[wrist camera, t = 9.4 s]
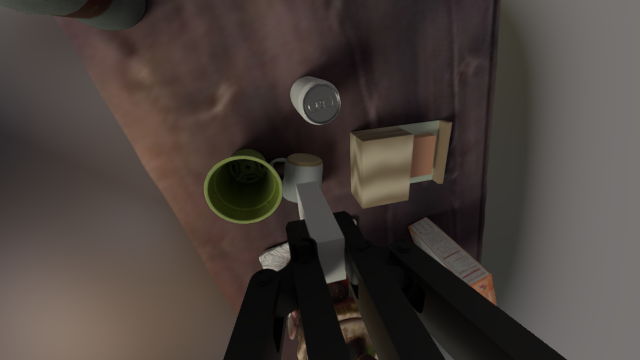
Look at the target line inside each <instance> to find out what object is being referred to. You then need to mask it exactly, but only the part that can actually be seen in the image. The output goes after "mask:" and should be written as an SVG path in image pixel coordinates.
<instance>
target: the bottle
mask: <svg viewBox="0 0 640 360" xmlns="http://www.w3.org/2000/svg"><path fill="white" fill-rule="evenodd" d="M0 5H2V6H4V7H7V8H11V9H14V10H17V11H20V12H23V13H26V14H40V15H53V16H62V17H70V18H74V19H76V20H78V21H81V22H83V23H85V24H88V25H90V26H93V27H96V28H99V29H102V30H124V29H127V28H130V27H133V26H134V25H135V24H137V23H138V22H139V21H140V20H141V19H142V16H143V14H144V12H145V0H0Z"/></svg>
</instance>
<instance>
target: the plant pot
mask: <svg viewBox="0 0 640 360" xmlns="http://www.w3.org/2000/svg"><path fill="white" fill-rule="evenodd" d="M232 160H233V161H232ZM234 161H235V162H234ZM261 163H262V164H263V168H261ZM233 165H235V169H236V172H234V171H233V168H232V166H233ZM246 166H250V168H249V169H247V168H246ZM266 171H267V172H266ZM253 177H255V179H253V180H247V178H253ZM204 194H205V199H206V201H207V203H208V205H209V206H210V208H211V209H212V210H213V211H214V212H215V213H216V214H217V215H219V216H220V217H222V218H224V219H226V220H228V221H231V222H235V223H253V222H257V221H260V220H262V219H264V218H266V217H268V216H269V215H270V214H272V213H273V212H274V211H275V209H276V208H277V207H278V205H279V203H280V201H281V198H282V194H283V187H282V182H281V179H280V177H279V175H278V173H277V172H276V170H275V169H274V168H273V167H272V166H271V165H269V164H268V163H267V162H266V160H265V158H264V157H263V156H262V155H261V154H260V153H259V152H257V151H255V150H252V149H242V150H239V151H237V152H235V153H234V154H233V155H232V156H231V157H229V158H227V159H224V160H222V161H220V162H219V163H217V164H216V165H215V166H214V167H213V168H212V169H211V170H210V172H209V173H208V175H207V177H206V180H205V184H204Z"/></svg>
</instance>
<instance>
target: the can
mask: <svg viewBox="0 0 640 360" xmlns="http://www.w3.org/2000/svg"><path fill="white" fill-rule="evenodd" d="M290 98H291V101H292V104H293V106H294V107H295V108H296V110H297V111H298V112H299V113H300V115H301V116H302V117H303V118H304V119H305V120H306V121H308V122H310V123H312V124H315V125H322V124H327V123H329V122H331V121H333V120H334V119H335V118H336V117H337V115H338V113H339V111H340V108H341V99H340V95H339V92H338V90H337V89H336V88H335V86H334V85H333V84H331V83H330V82H328V81H325V80H322V79H319V78H315V77H310V76H306V77H302V78H300V79H298V80H297V81H296V82H295V83H294V84H293V86H292V88H291V92H290Z"/></svg>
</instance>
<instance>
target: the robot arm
mask: <svg viewBox="0 0 640 360" xmlns="http://www.w3.org/2000/svg"><path fill="white" fill-rule="evenodd" d="M296 192H297V199H298V207H299V215H300V219H301V220H297V221H292V222H288V224H287V226H286V233H287V239H288V245H289V251H290V261H289V263H288V264H287V265H286V266H285V267H284V268H282V269H280V270H278V271H275V270H274V269H269V268H267V269H262V270H260V271H258V272H256V273H255V274H254V275H253V276H252V277H251V279H250V281H249V284H248V287H247V290H246V293H245V296H244V299H243V302H242V305H241V308H240V311H239V314H238V317H237V320H236V323H235V327H234V329H233V332H232V335H231V338H230V341H229V344H228V347H227V350H226V353H225V356H224V359H223V360H281V354H282V347H283V340H284V333H285V327H286V320H287V315H289V314H290V313H292V312H294V311H295V310H297V309H299V310H300V316H301V322H302V328H303V334H304V340H305V345H306V351H307V357H308V360H351V358H350V355H349V352H348V349H347V345H346V342H345V339H344V336H343V333H342V330H341V327H340V323H339V320H338V317H337V314H336V311H335V308H334V304H333V301H332V298H331V295H330V292H329V289H328V285H327V283H331V282H335V281H339V280H344V279H346V273H347V276H348V278H349V296H350V297H352V295H353V297H354V300H355V302H356V305H357V307H358V310H359V312H360V315H361V317H362V320H363V322H364V325H365V327H366V330H367V332H368V334H369V337H370V339H371V342H372V344H373V347H374V349H375V352H376V354H377V357H378V359H379V360H445V358H444V357H443V355H442V353H441V352H440V351H439V349H438V347H437V345H436V344H435V342H434V341H433V339H432V337H431V336H430V334H431V335H432V336H433V338H435V340H436V341H437V342H438V343H439V344H440V345H441V346H442V347H443V348H444V349H445V350H446V352H447V353H448V354H449V355H450V356H451V357H452V358H453V359H454V360H567V359H565V358H564V357H563V356H561V355H560V354H559V353H558V352H556V351H555V350H554V349H552V348H551V347H549V346H548V345H547V344H546V343H544V342H543V341H542V340H540V339H539V338H538V337H536V336H535V335H534V334H533V333H531V332H530V331H529V330H527V329H526V328H525V327H523V326H522V325H521V324H519V323H518V322H517V321H516V320H514V319H513V318H512V317H510V316H509V315H508V314H506V313H505V312H504V311H502V310H501V309H500V308H498V307H497V306H496V305H495V304H493V303H492V302H491V301H489V300H488V299H487V298H485V297H484V296H483V295H481V294H480V293H479V292H477V291H476V290H475V289H474V288H472V287H471V286H470V285H468V284H467V283H466V282H464V281H463V280H462V279H460V278H459V277H458V276H456V275H455V274H454V273H453V272H451V271H450V270H449V269H447V268H446V267H445V266H443V265H442V264H441V263H439V262H438V261H437V260H435V259H434V258H433V257H432V256H430V255H429V254H428V253H426V252H425V251H424V250H422V249H421V248H420V247H418V246H417V245H416V244H414V243H413V242H411V241H409V240H405V239H398V240H394V241H393V242H391V244H390V247H378V246H374V245H373V244H372V243H371V242H370V241H369V240H367V239H364V237H363V235H362V234H361V232H360V230H359V229H358V227H357V225H356V224H355V222H354V221H353V219H352V217H351V215H350V214H348V213H347V212H345V211H342V212H336V213H332V211H331V209H330V207H329V205H328V203H327V201H326V199H325V197H324V195H323V193H322V191H321V189H320V187H319V185H318V183H317V181H313V182H307V183H301V184H296ZM428 332H429V333H430V334H429V333H428Z"/></svg>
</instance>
